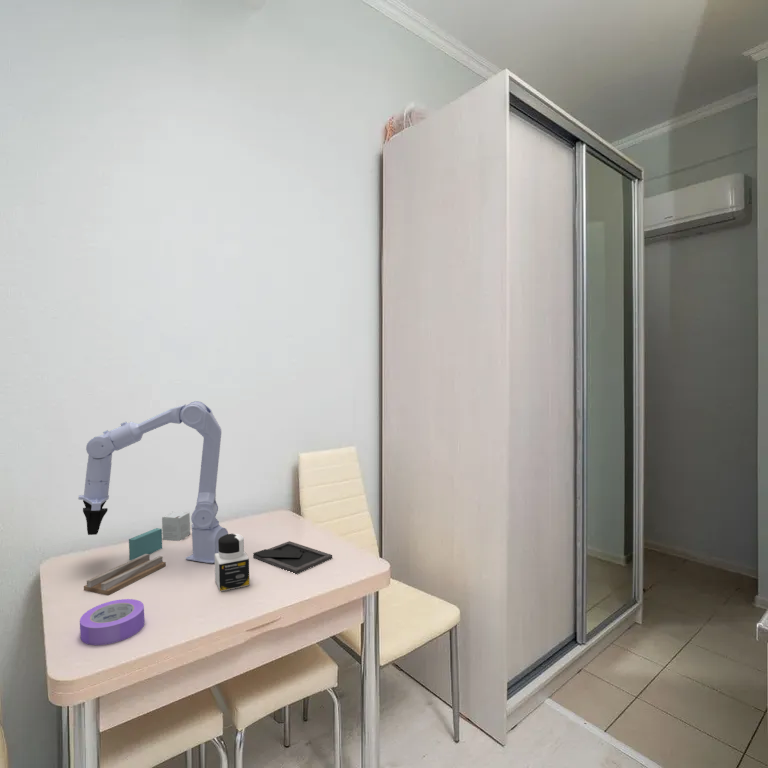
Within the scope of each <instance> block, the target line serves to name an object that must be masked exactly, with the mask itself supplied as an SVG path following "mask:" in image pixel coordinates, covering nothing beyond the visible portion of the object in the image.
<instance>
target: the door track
mask: <svg viewBox="0 0 768 768" xmlns="http://www.w3.org/2000/svg"><path fill="white" fill-rule="evenodd" d="M166 565H167V562H165V561H164V560H163V556H161V555H158V556H156V557H154V558H151V559H150V554H144V555H142V556H140V557H138V558H135V559H133V560H129V561H127V562H125V563H122V564H120V565H118V566H116V567H113V568H112V569H109V570H107V571H105V572H103V573H101V574H98V575H96V576H94V577H92V578H89V579H87V580H86V584H85V585H84V586H83V591H85V592H92V593H95V594H101V595H106V596H110V595H112V594H114V593H115V592H118V591H120V590H121V589H124V588H126V587H128V586H130V585H131V584H133V583H135V582H137V581H139V580H142V579H143V578H145V577H147V576H149V575H151V574H152V573H154V572H156V571H159V570H161V569H162V568H165V567H166Z"/></svg>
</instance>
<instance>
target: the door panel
mask: <svg viewBox="0 0 768 768" xmlns="http://www.w3.org/2000/svg"><path fill="white" fill-rule="evenodd" d="M128 547H129V548H128V551H129V552H128V554H129V559H128V560H129V561H131V560H133V559H135V558H138V557H140V556H142V555H144V554H149V555H151V554H153V553H155V552H157V551H159V550H162V549H163V534H162V528H158V527H156V528H153V529H150V530H149V531H146V532H143V533H141V534H139V535H136V536H134V537H131V538H129V539H128Z"/></svg>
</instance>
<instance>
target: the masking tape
mask: <svg viewBox="0 0 768 768" xmlns="http://www.w3.org/2000/svg"><path fill="white" fill-rule="evenodd" d="M145 623H146V621H145V605H144V603H143V602H142V601H141V600H137V599H133V598H125V599H123V598H122V599H115V600H111V601H107V602H104V603H101V604H98V605H95V606H94V607H92V608H90V609H88V610H87V611H86V612H84V613H83V614H82V615H81V617H80V619H79V632H80V633H79V634H80V640H81V642H82V643H83V644H87V645H91V646H104V645H105V646H106V645H110V644H115V643H118V642H121V641H124V640H127V639H128V638H131V637H133V636H134V635H137V633H139V632H140V631H141V630H142V629H143V628H144V626H145Z"/></svg>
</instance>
